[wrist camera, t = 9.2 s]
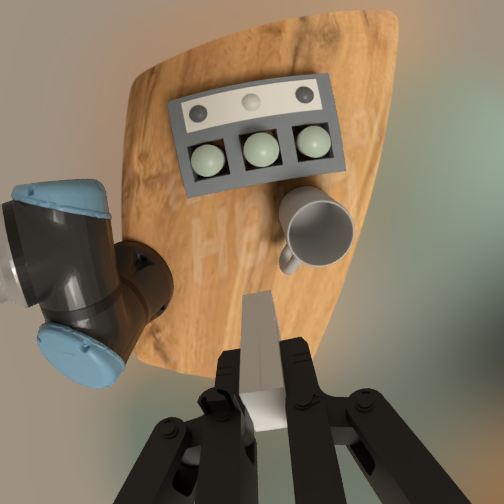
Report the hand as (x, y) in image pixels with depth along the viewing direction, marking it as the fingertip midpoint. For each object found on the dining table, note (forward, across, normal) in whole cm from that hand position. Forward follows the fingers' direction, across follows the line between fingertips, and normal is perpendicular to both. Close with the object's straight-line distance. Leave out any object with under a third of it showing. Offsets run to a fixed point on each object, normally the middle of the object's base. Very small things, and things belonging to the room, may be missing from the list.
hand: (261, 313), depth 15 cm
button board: (+29, +3, +10) cm, 30 cm away
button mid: (+25, +3, +8) cm, 27 cm away
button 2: (+27, -4, +8) cm, 29 cm away
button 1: (+27, +10, +8) cm, 30 cm away
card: (+24, +3, +14) cm, 28 cm away
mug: (+29, +6, -4) cm, 30 cm away
